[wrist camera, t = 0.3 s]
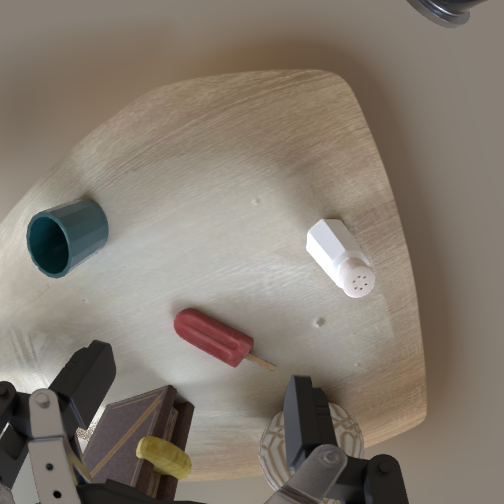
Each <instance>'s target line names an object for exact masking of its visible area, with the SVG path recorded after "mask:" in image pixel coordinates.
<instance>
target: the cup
mask: <svg viewBox="0 0 504 504" xmlns="http://www.w3.org/2000/svg"><path fill="white" fill-rule="evenodd" d="M107 237H108V222H107V219H106V216H105V214H104V212H103V210H102V209H101V207H100V206H99V205H98V204H97V203H95V202H94V201H92V200H89V199H77V200H74V201H71V202H68V203H65V204H62V205H59V206H56V207H53V208H50V209H47V210H44V211H42V212H39V213H38V214H36V215H34V216H33V217H32V219H31V221H30V223H29V224H28V229H27V235H26V238H27V246H28V251H29V253H30V256H31V258H32V260H33V262H34V263H35V265H36V266H37V268H38V269H39V270H40V271H41V272H42V273H44V274H45V275H46V276H48V277H52V278H60V277H63V276H65V275H66V274H68V273H69V272H71V271H72V270H73V269H75V268H76V267H77V266H79V265H80V264H82V263H83V262H85V261H86V260H87V259H89V258H90V257H92V256H93V255H95V254H96V253H97V252H98V251H100V250H101V249H102V248H103V246H104V245H105V243H106V241H107Z"/></svg>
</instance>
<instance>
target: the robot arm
mask: <svg viewBox="0 0 504 504" xmlns="http://www.w3.org/2000/svg"><path fill="white" fill-rule="evenodd" d="M425 1H426V2H427V3H429V4H430V5H431V6H432V7H434V8H435V9H437V10H438V11H440V12H442V13H444V14H446V15H448V16H452V17H458V16H460V15H462V14H464V13H465V12H466V11H468V10H470V9H472V8H474V7H476V6H478V5H480V4H482V3H484V2H486V1H488V0H425ZM115 375H116V366H115V361H114V357H113V352H112V347H111V345H110V344H109V343H106V342H102V341H99V340H94V341H93V342H92V343H91V344H90V345H89V347H88V348H85V347H83V348H82V349H80V350H79V351H77V352H75V353H74V355H73V356H72V357H71V358H70V360H69V361H68V362H67V364H66V365H65V367H64V368H63V369H62V370H61V371H60V373H59V374H58V375H57V377H56V378H55V379H54V381H53V382H52V384H51V385H50V386H49V387H48V389H46V388H42V389H38V390H36V391H34V392H33V393H32V394H27V393H22V392H17V391H16V389H15V387H14V386H13V384H12V383H10V382H7V381H1V382H0V434H1V433H2V431H3V429H4V428H5V426H6V424H7V423H9V425H8V427H7V429H6V430H5V432H4V434H3V436H2V437H1V439H0V504H15V502H14V500H13V495H12V492H11V489H12V487H13V484H14V482H15V480H16V478H17V475H18V473H19V471H20V469H21V466H22V464H23V462H24V460H25V458H26V456H27V454H28V452H29V455H30V461H31V465H32V471H33V476H34V480H35V485H36V489H37V493H38V497H39V500H40V502H39V503H36V504H205V503H199V502H193V501H162V500H157V499H155V498H153V497H151V496H149V495H147V494H145V493H143V492H141V491H139V490H137V489H136V488H134V487H132V486H129V485H126V484H123V483H120V482H117V481H114V480H111V479H109V478H107V479H106V482H105V483H94V481H93V479H92V477H91V475H90V473H89V471H88V469H87V467H86V464H85V461H84V458H83V455H82V451H81V448H80V444H79V441H78V437H77V434H76V431H77V429H78V427H79V428H82V429H84V430H86V431H87V429H88V427H89V425H90V423H91V421H92V420H93V418H94V416H95V414H96V412H97V410H98V408H99V406H100V405H101V403H102V401H103V399H104V397H105V395H106V394H107V392H108V390H109V388H110V386H111V385H112V383H113V381H114V379H115ZM283 415H284V430H285V446H286V463H287V471H295V473H294V474H293V475H292V476H291V478H290V479H289V480H288V481H287V482H286V483H285V484H284V485H283V486H281V487H280V488H279V489H278V490H277V491H276V492H275V493H274V494H273V495H272V496H271V497H270V498H269V499H268V500H267V501H266V502H265V503H264V504H320V503H321V501H322V500H323V498H328V499H334V500H340V501H341V504H409V502H408V498H407V494H406V489H405V485H404V481H403V477H402V473H401V469H400V465H399V463H398V461H397V460H396V459H395V458H394V457H392V456H390V455H386V454H380V455H376V456H374V457H373V458H372V459H371V460H366V459H360V458H355V457H351V456H349V455H347V454H346V453H345V452H344V451H343V450H342V449H341V448H340V447H339V446H338V443H337V439H336V435H335V430H334V425H333V421H332V416H331V412H330V408H329V403H328V399H327V396H326V395H325V393H324V392H323V391H322V389H321V388H313V387H312V382H311V378H310V376H304V375H292V376H291V379H290V382H289V385H288V388H287V392H286V395H285V398H284V404H283Z"/></svg>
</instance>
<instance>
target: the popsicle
mask: <svg viewBox="0 0 504 504" xmlns="http://www.w3.org/2000/svg"><path fill="white" fill-rule="evenodd" d="M174 329H175V331H176V333H177V334H178V335H179V336H180V337H181V338H183V339H184V340H186V341H187V342H189V343H191V344H192V345H194V346H196V347H198V348H199V349H201V350H203V351H205V352H206V353H208V354H210V355H212V356H214V357H216V358H217V359H219V360H221V361H223V362H225V363H227V364H228V365H230V366H232V367H237V365H238V364H239V363H240V362H241V361H242V360H243V358H246V359H248V360H250V361H252V362H254V363H256V364H258V365H260V366H262V367H265V368H267V369H269V370H271V371H275V370H276V366H275V365H273V364H271V363H269V362H267V361H264V360H262V359H260V358H258V357H256V356H254V355H252V354H250V353H248V352H249V351H250V350H251V349H252V348H253V339H252V338H250V337H248V336H246V335H244V334H242V333H240V332H238V331H236V330H234V329H232V328H230V327H228V326H226V325H224V324H222V323H220V322H218V321H216V320H214V319H212V318H210V317H209V316H207V315H205V314H203V313H201V312H199V311H196V310H193V309H185V310H182V311H181V312H179V313H178V315H177V316H176V318H175V320H174Z"/></svg>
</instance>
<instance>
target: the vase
mask: <svg viewBox="0 0 504 504" xmlns="http://www.w3.org/2000/svg"><path fill="white" fill-rule="evenodd" d="M328 403H329V408H330V412H331V416H332V421H333V425H334V430H335V435H336V439H337V443H338V446H339V447H340V448H341V449H342V450H343V451H344V452H345V453H346V454H347V455H349V456H351V457H355V458H360V459H363V455H364V439H363V435H362V432H361V429H360V427H359V425H358V423H357V422H356V420H355V419H354V418H353V417H352V415H351V414H349V413H348V412H347V411H346V410H345V409H343V408H342V407H340V406H338V405H336V404H333V403H330V402H328ZM259 461H260V464H261V468H262V471H263V473H264V475H265V477H266V479H267V481H268V483H269V484H270V485H271V487H272V488H273V489H274V491H275V492H276V491H277V490H278V489H279V488H280V487H281V486H283V485H284V484H285V483H286V482H287V481H288V480H289V479H290V478H291V476H292V475H293V474H294V473H295V471H287V463H286V446H285V430H284V415H283V410H282V411H281V412H279V413H278V414H277V415H276V416H275V417H274V418H273V419H272V420H271V421H270V422H269V424H268V425H267V427H266V428H265V430H264V432H263V435H262V437H261V441H260V446H259ZM320 504H341V501H340V500H334V499H328V498H323V500H322V501H321V503H320Z"/></svg>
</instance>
